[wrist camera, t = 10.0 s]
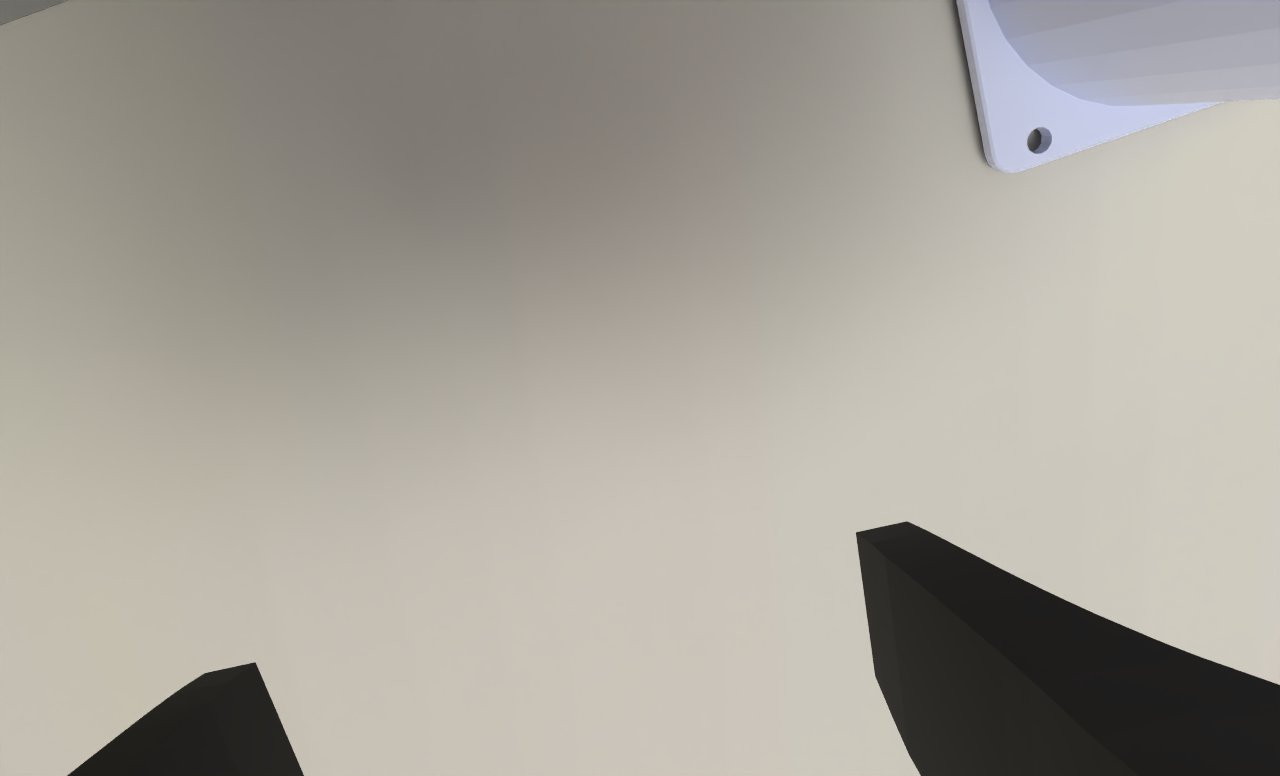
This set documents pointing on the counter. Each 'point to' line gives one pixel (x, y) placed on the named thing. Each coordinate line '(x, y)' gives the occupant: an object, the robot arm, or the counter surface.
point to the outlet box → (22, 8)
